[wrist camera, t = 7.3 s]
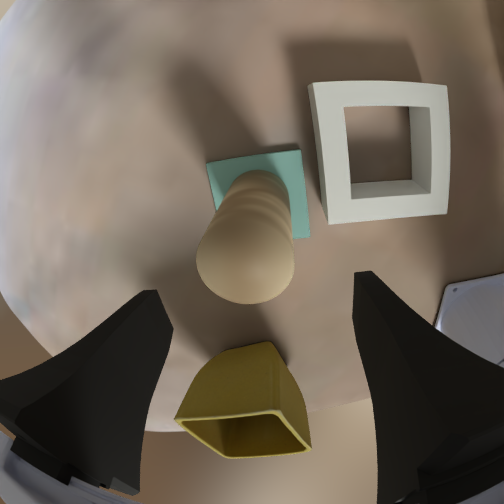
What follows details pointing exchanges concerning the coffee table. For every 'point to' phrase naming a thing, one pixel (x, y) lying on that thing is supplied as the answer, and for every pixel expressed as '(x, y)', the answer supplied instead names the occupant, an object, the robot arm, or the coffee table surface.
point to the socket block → (422, 151)
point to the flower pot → (246, 405)
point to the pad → (277, 163)
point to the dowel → (249, 241)
